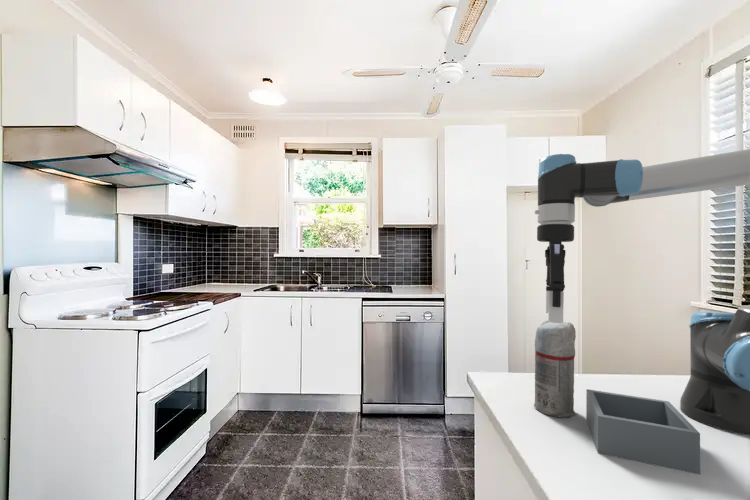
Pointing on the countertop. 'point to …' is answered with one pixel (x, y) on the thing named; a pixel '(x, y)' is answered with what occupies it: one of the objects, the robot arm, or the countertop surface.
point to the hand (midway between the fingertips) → (553, 317)
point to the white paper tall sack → (555, 369)
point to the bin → (642, 430)
